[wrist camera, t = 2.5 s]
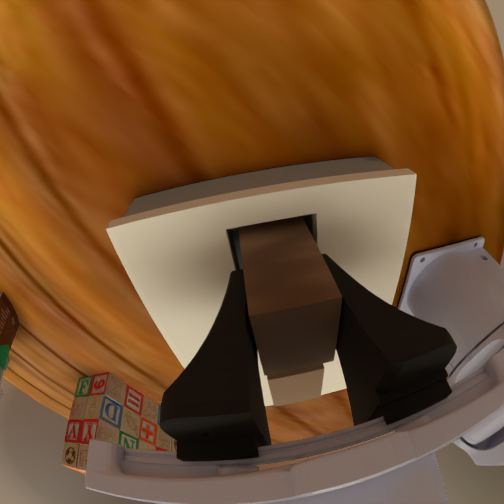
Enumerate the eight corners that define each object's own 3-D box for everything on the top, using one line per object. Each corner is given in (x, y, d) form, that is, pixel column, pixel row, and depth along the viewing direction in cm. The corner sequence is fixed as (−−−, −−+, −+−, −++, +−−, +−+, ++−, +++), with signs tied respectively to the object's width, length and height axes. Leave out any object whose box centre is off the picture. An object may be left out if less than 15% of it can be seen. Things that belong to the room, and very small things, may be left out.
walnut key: (291, 197, 14) (342, 296, 8) (296, 257, 17) (333, 360, 11) (235, 207, 14) (248, 315, 8) (248, 266, 17) (264, 375, 11)
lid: (407, 168, 12) (463, 208, 8) (362, 376, 24) (375, 412, 20) (111, 220, 12) (76, 279, 8) (216, 405, 24) (218, 444, 20)
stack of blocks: (208, 429, 37) (212, 498, 27) (177, 433, 38) (177, 497, 27) (108, 370, 25) (92, 474, 15) (77, 376, 26) (59, 465, 16)
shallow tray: (375, 156, 14) (402, 174, 12) (350, 352, 26) (359, 375, 23) (134, 198, 14) (118, 224, 12) (217, 378, 26) (218, 403, 24)
